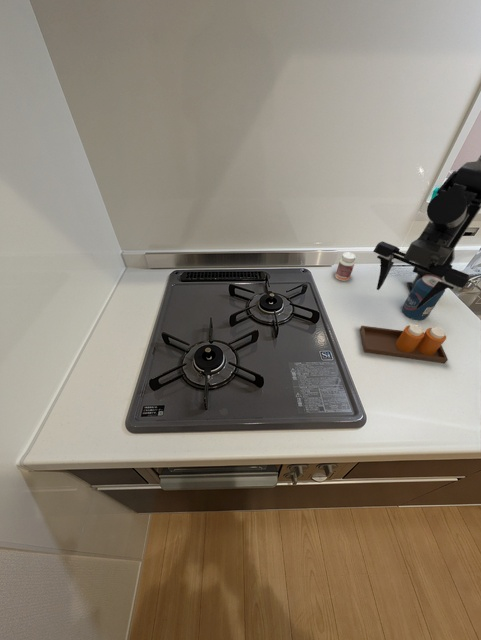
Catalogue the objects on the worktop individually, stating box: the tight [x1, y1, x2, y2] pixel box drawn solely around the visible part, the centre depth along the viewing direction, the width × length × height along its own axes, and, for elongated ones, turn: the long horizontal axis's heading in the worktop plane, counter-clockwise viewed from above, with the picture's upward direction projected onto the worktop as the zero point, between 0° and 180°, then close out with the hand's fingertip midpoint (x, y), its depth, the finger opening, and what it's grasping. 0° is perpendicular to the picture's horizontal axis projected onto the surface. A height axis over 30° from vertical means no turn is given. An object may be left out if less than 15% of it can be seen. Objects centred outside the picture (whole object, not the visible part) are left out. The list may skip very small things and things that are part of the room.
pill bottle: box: [334, 251, 356, 282], centre depth 91 cm, size 5×5×8 cm
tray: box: [359, 325, 449, 364], centre depth 71 cm, size 8×19×2 cm, turn 80°
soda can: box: [401, 275, 446, 321], centre depth 77 cm, size 7×7×12 cm
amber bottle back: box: [416, 326, 447, 355], centre depth 69 cm, size 4×4×6 cm
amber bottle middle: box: [396, 324, 425, 353], centre depth 69 cm, size 4×4×6 cm
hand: (396, 298), depth 64 cm, fingers open, 9 cm apart
